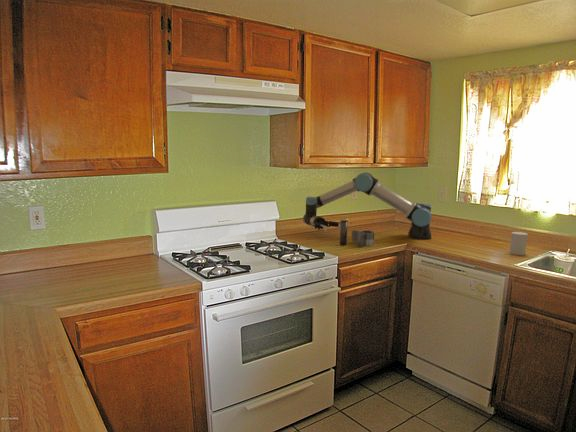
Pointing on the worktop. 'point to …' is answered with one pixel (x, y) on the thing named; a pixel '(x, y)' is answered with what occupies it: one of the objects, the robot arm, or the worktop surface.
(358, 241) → the hinge
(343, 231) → the hinge pin
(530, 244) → the worktop surface
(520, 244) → the cup
